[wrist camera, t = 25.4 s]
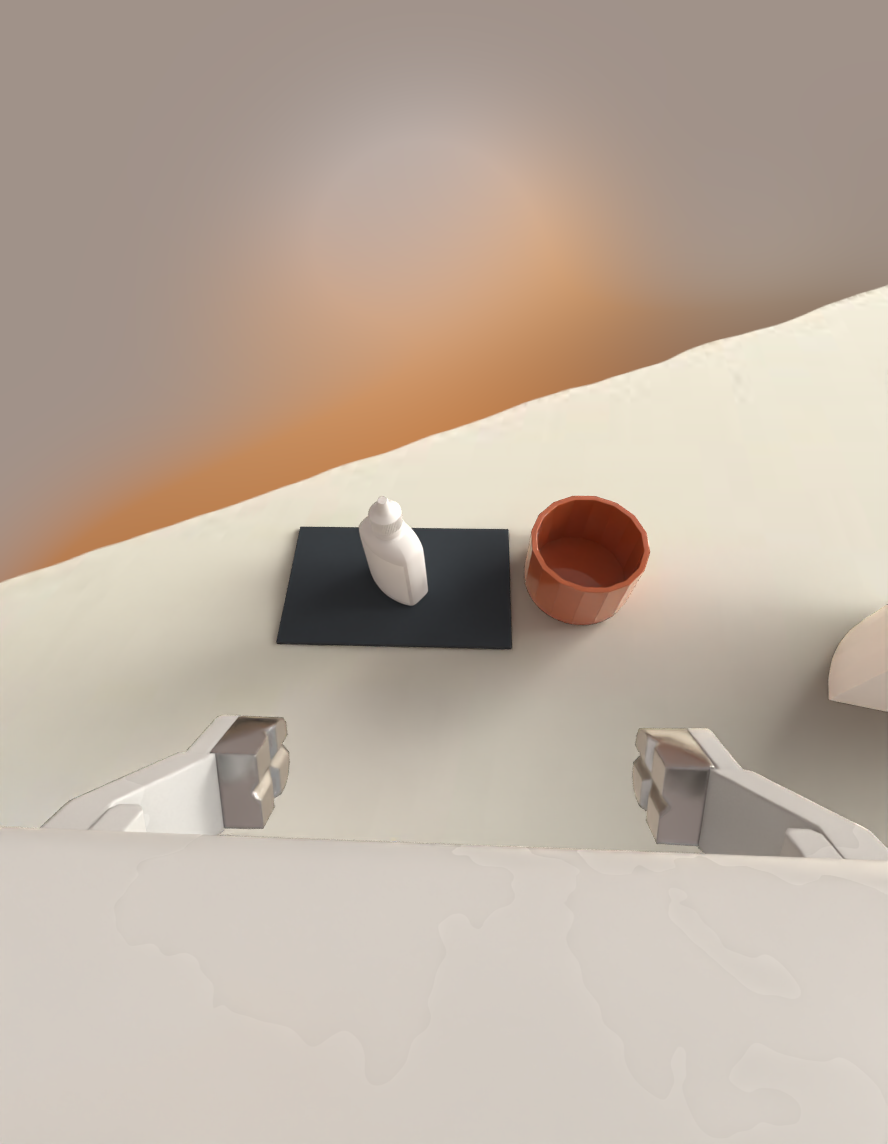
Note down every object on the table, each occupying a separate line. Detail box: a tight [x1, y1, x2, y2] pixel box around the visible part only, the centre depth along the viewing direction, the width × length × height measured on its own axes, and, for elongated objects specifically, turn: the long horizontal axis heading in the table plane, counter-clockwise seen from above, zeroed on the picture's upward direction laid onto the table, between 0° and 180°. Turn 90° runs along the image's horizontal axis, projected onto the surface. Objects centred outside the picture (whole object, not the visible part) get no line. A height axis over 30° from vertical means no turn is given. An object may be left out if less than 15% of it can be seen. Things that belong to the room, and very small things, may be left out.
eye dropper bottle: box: [359, 496, 428, 606], centre depth 43 cm, size 4×6×12 cm
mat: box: [276, 527, 512, 649], centre depth 48 cm, size 20×12×1 cm, turn 88°
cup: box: [524, 496, 650, 625], centre depth 45 cm, size 9×9×6 cm
